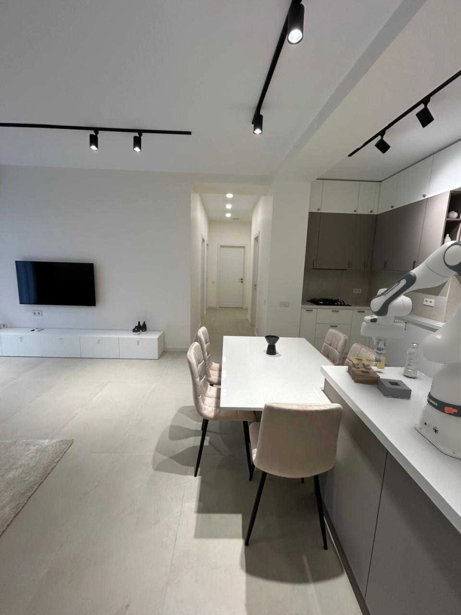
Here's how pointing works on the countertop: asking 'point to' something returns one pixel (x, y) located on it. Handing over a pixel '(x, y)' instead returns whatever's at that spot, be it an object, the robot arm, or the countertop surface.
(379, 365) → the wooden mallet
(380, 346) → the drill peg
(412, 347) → the plastic bottle
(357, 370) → the socket block
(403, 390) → the grey square holed piece
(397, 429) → the countertop surface
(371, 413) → the countertop surface
